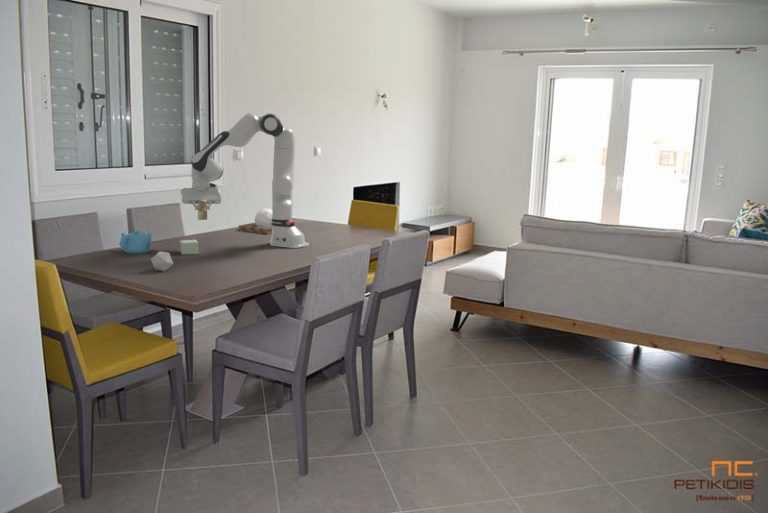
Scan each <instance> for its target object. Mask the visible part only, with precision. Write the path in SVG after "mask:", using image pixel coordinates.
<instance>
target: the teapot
mask: <svg viewBox="0 0 768 513" xmlns="http://www.w3.org/2000/svg"><path fill="white" fill-rule="evenodd" d="M120 235H121V236H120V240H119V246H120V247H121V249H122V251H123V252H125V254H132V253H135V254H136V253H137V254H145V252H146V253H148V252H150V251H151V249H152V244H151V243H152V242H151V241H152V237H153V232H148V233H147V235H146V233H144V232H140V231H139V230H137V229H136V230H135V229H134V230H133V232H130V233H128V234H127V233H126V232H121V233H120ZM135 254H134V255H135Z"/></svg>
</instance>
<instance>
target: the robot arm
mask: <svg viewBox="0 0 768 513" xmlns="http://www.w3.org/2000/svg"><path fill="white" fill-rule="evenodd" d="M259 132H262V133H264V134H266V135H269V136H272V137H273V140H274V145H273V163H272V164H273V168H272V169H273V170H272V180H271V181H272V182H271V184H272V185H271V186H272V187H271V188H272V189H271V190H272V192H271V193H272V194H271V197H272V198H271V201H272V203H271V206H272V209H271V210H272V221H271V222H272V233H271V234H270V240H269V244H270V246H271V247H282V248H289V249H290V248H291V249H299V248H304V247H305V248H306V247H308V246H309V245H310V243H309V242H306V241H305V240H306V239H305V235H304V233H303V232H302V231H301V230H300V229H299V228H298V227H296V223H297V220H294V219H293V189H294V173H295V171H294V167H295V146H296V143H295V135H294V134H295V133H294V131H293V130H292V129H290V128H289V127H285V126H283V123H282V122H281V119H280V118H279V117H278V115H276V114H274V113H265V114H264V115H262V116H259V117H258V116H257V115H256V114H255V113H251V112H249V113H246V114H244V115H243V116H242V117H241V118H240V119H239V120H237V122H236V123H235V125H234V126H233V127H231V128H230V129H228V130H224V131H222V132H220V133H218V134H217V135H216V136H215V137H214V138H213V139H212V140H211V141H210V142H208V143H207V144H206V146H204V147H203V148H202V149H201V150H199V151H198V152H196V153H195V154H194V155H193V156H191V161H190V162H191V173H190V174H191V182H192V183H191V187H188V188H187V187H183V188H182V189H181V190H180V195H181V203H182V204H184V205H185V204H186V205H189V204H190V205H192V206H193V207H194V210H195V211H198V200H207V211H210V210H211V208H210V207H211V206H212V204H214V205H217V204H218V205H220V204H221V203H222V195H221V191H220V189H219V185H218V184H216V183H213V182H214V181H218V180H219V179H220V178H222V176H223V173H224V167H223V164H221V163H220V162H218V161H217V160H215V159H214V158H212V157H211V156H213V155H214V154H215V153H216V152H217V151H219V149H220V148H221V147H224V146H230V147H234V148H242V147H244V146H247V145H248V144H249V142H250V141H251V140H252V139H253V137H254V136H255V135H256V134H257V133H259Z"/></svg>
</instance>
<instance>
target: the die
mask: <svg viewBox="0 0 768 513" xmlns="http://www.w3.org/2000/svg"><path fill="white" fill-rule="evenodd" d="M150 262H151V263H152V265H153V268H154V270H155V271H160V272H166V271H167V270H168V269H169V268H170V267H171V266H173V265H174V261H173V259H172V257H171V254H170V252H165V251H158V252H157V253H156V254H155V255H154V256H152V257H151V258H150Z"/></svg>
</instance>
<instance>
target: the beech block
mask: <svg viewBox="0 0 768 513" xmlns="http://www.w3.org/2000/svg"><path fill="white" fill-rule="evenodd" d="M197 205H198V210H197V220H201V221H203V220H204V221H207V220H208V210H207V205H208V204H207V200H198V204H197Z"/></svg>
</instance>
